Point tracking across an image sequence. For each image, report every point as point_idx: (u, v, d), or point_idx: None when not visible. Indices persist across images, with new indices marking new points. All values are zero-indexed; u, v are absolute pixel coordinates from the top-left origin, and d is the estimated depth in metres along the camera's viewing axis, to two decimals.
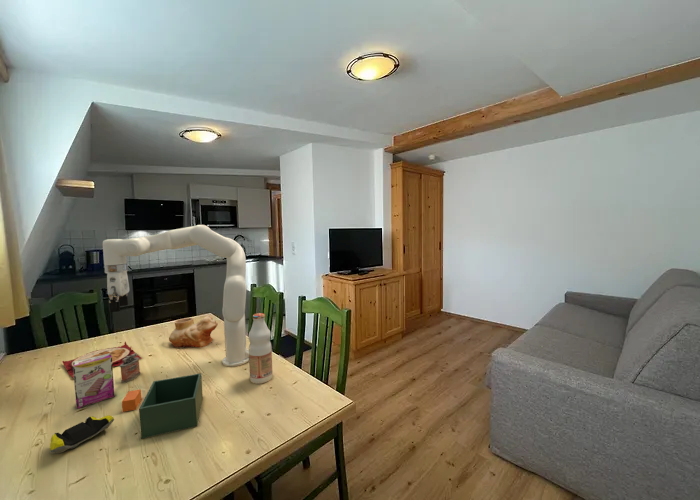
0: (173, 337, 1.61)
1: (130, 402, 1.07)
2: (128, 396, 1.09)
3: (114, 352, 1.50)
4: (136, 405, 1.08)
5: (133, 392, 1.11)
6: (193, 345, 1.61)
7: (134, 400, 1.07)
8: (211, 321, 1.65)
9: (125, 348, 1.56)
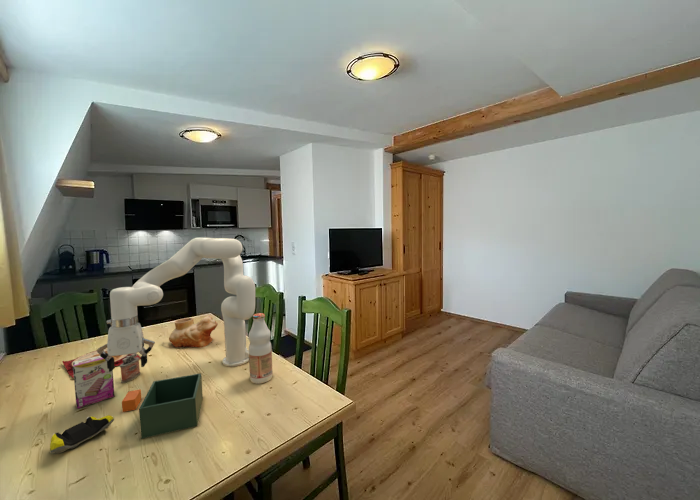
0: (173, 337, 1.61)
1: (130, 402, 1.07)
2: (128, 396, 1.09)
3: None
4: (136, 405, 1.08)
5: (133, 392, 1.11)
6: (193, 345, 1.61)
7: (134, 400, 1.07)
8: (211, 321, 1.65)
9: None
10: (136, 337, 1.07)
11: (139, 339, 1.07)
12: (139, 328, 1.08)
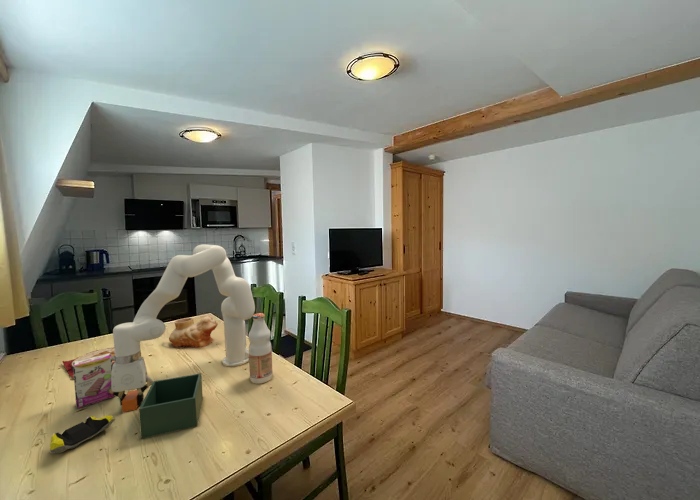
0: (173, 337, 1.61)
1: (130, 402, 1.07)
2: (128, 396, 1.09)
3: (114, 352, 1.50)
4: (136, 405, 1.08)
5: (133, 392, 1.11)
6: (193, 345, 1.61)
7: (134, 400, 1.07)
8: (211, 321, 1.65)
9: None
10: (140, 372, 1.08)
11: (143, 374, 1.08)
12: (142, 363, 1.09)
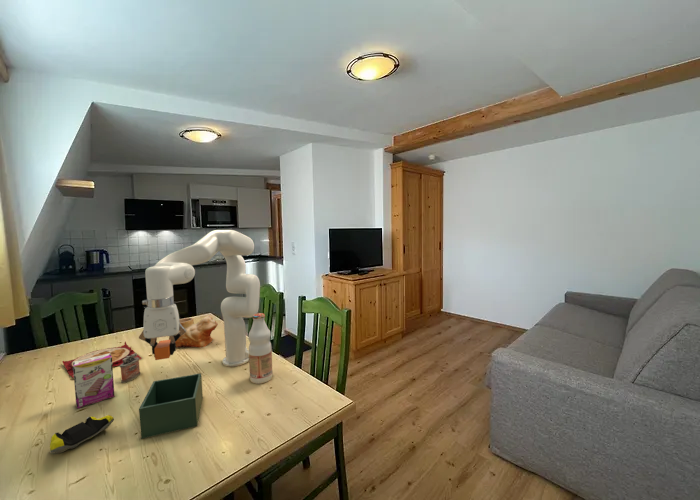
0: None
1: (163, 349, 0.99)
2: (161, 344, 1.01)
3: (114, 352, 1.50)
4: (169, 354, 1.01)
5: (165, 341, 1.04)
6: (193, 345, 1.61)
7: (167, 348, 1.00)
8: (211, 321, 1.65)
9: (125, 348, 1.56)
10: (173, 318, 1.00)
11: (176, 321, 1.01)
12: (176, 309, 1.02)
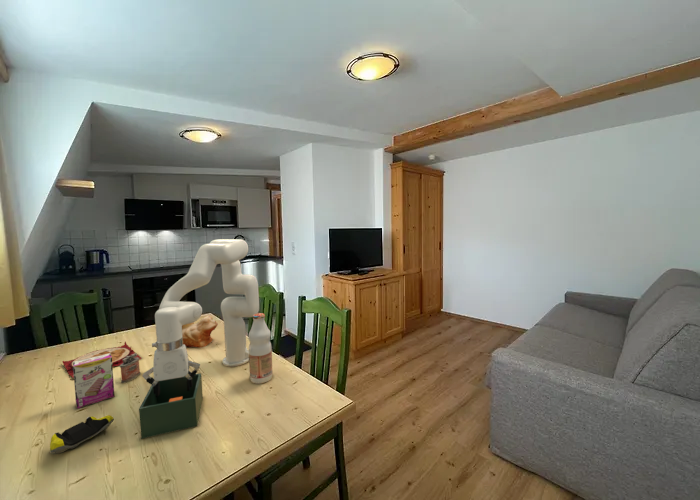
0: None
1: None
2: None
3: (114, 352, 1.50)
4: None
5: (175, 399, 1.05)
6: (193, 345, 1.61)
7: None
8: (211, 321, 1.65)
9: (125, 348, 1.56)
10: (182, 360, 1.01)
11: (185, 362, 1.01)
12: (185, 350, 1.02)
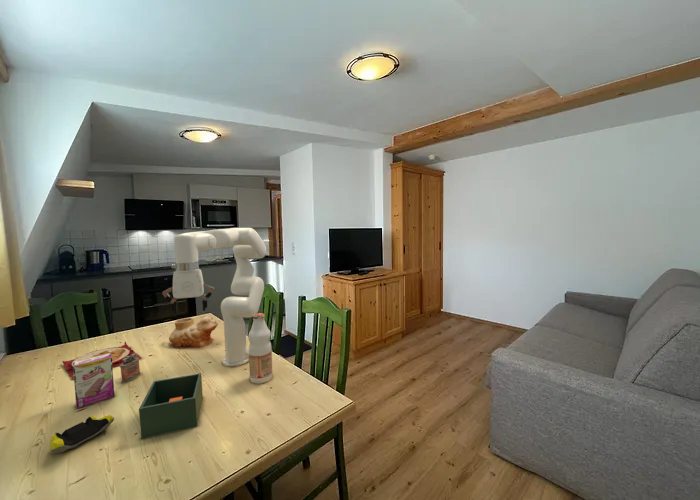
0: (173, 337, 1.61)
1: None
2: None
3: (114, 352, 1.50)
4: None
5: (175, 399, 1.05)
6: (193, 345, 1.61)
7: None
8: (211, 321, 1.65)
9: (125, 348, 1.56)
10: (199, 281, 1.11)
11: (201, 283, 1.12)
12: (201, 273, 1.13)
